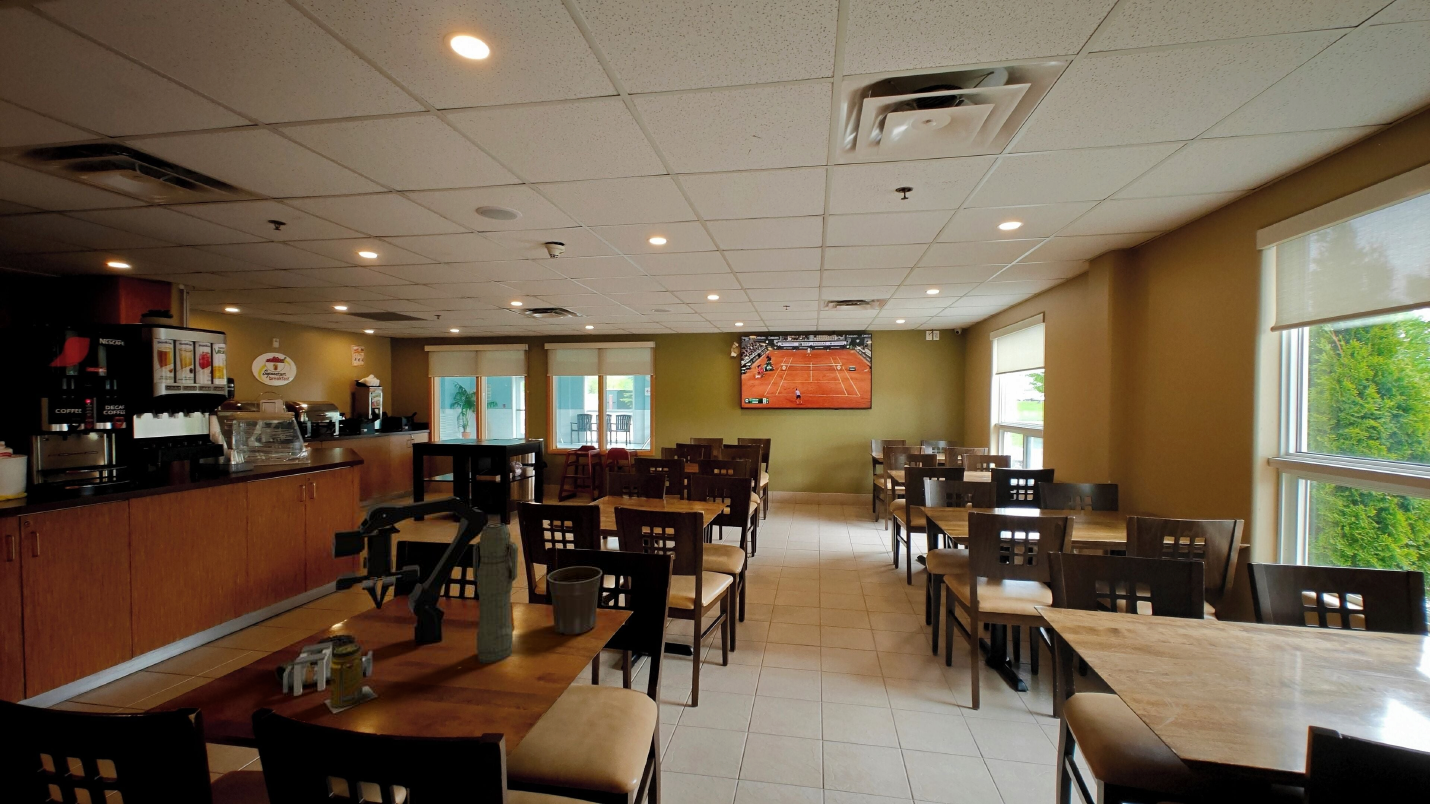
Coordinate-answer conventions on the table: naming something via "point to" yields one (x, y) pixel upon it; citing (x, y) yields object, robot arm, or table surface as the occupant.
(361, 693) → the condiment
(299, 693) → the grey staple-shaped bracket
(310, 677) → the air tube
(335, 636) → the dark piece
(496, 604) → the grey stone statue
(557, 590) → the plant pot
